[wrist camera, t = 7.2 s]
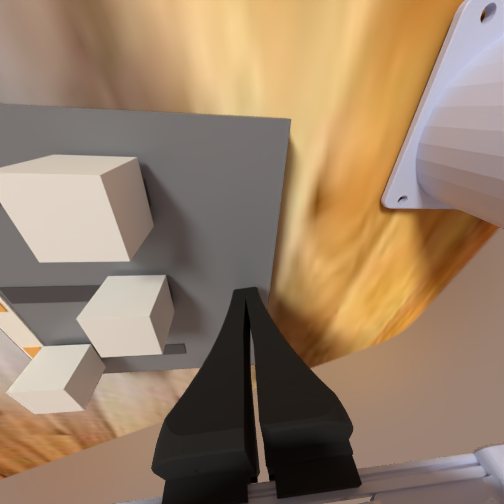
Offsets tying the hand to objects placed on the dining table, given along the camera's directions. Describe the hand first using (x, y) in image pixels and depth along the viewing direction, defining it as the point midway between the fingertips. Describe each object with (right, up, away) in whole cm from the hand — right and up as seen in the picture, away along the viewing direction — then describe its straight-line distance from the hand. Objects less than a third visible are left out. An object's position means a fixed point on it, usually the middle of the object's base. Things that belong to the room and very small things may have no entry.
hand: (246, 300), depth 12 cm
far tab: (-12, -5, +3) cm, 13 cm away
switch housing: (-7, +1, +1) cm, 7 cm away
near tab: (-6, +5, -3) cm, 9 cm away
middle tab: (-6, 0, 0) cm, 6 cm away
